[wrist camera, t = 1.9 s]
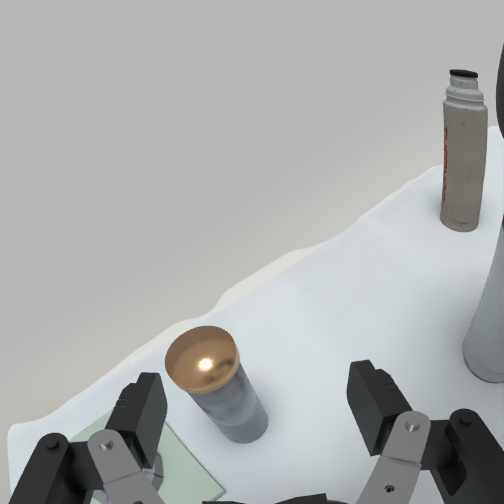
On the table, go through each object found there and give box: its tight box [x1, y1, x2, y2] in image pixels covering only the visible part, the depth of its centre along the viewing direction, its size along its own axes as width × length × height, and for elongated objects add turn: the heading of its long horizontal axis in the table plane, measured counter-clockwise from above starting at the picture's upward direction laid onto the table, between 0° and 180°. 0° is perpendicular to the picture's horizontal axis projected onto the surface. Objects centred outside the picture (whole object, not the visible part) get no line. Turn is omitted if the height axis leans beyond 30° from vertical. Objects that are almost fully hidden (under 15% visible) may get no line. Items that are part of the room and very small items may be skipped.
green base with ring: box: [68, 408, 226, 504], centre depth 26 cm, size 16×18×3 cm
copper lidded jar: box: [165, 326, 268, 443], centre depth 27 cm, size 6×6×14 cm
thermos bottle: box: [440, 70, 488, 232], centre depth 41 cm, size 8×8×28 cm
